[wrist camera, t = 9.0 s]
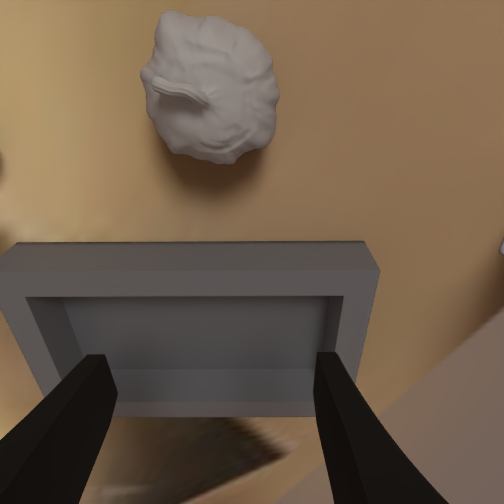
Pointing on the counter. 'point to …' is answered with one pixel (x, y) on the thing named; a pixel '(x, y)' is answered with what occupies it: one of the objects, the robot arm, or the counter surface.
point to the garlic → (210, 88)
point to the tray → (192, 319)
